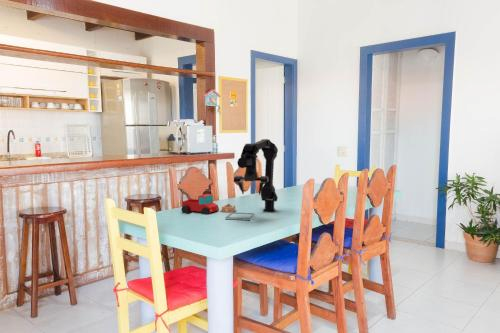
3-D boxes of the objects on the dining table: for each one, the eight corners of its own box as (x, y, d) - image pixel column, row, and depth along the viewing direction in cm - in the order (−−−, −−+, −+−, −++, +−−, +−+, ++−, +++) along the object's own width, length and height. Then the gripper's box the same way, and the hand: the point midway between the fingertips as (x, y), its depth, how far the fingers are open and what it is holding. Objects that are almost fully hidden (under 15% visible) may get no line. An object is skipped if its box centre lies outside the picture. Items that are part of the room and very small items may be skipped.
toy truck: (208, 217, 222) (208, 197, 221) (180, 213, 231) (180, 194, 230) (220, 213, 233) (219, 194, 232) (192, 210, 242) (192, 192, 241)
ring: (224, 209, 236) (224, 204, 236) (235, 210, 235) (235, 205, 235) (220, 212, 228) (220, 207, 228) (231, 213, 227) (231, 207, 227)
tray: (231, 214, 227) (231, 212, 227) (254, 215, 224) (254, 213, 224) (225, 219, 214) (225, 217, 214) (249, 221, 211) (249, 218, 211)
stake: (222, 210, 239) (222, 202, 238) (238, 211, 236) (238, 202, 236) (218, 214, 229) (218, 205, 228) (234, 214, 227) (234, 206, 226)
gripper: (231, 167, 208) (231, 196, 210) (265, 168, 205) (266, 197, 207) (235, 165, 219) (235, 193, 221) (268, 166, 216) (268, 193, 218)
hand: (251, 194), depth 216 cm, fingers open, 9 cm apart
